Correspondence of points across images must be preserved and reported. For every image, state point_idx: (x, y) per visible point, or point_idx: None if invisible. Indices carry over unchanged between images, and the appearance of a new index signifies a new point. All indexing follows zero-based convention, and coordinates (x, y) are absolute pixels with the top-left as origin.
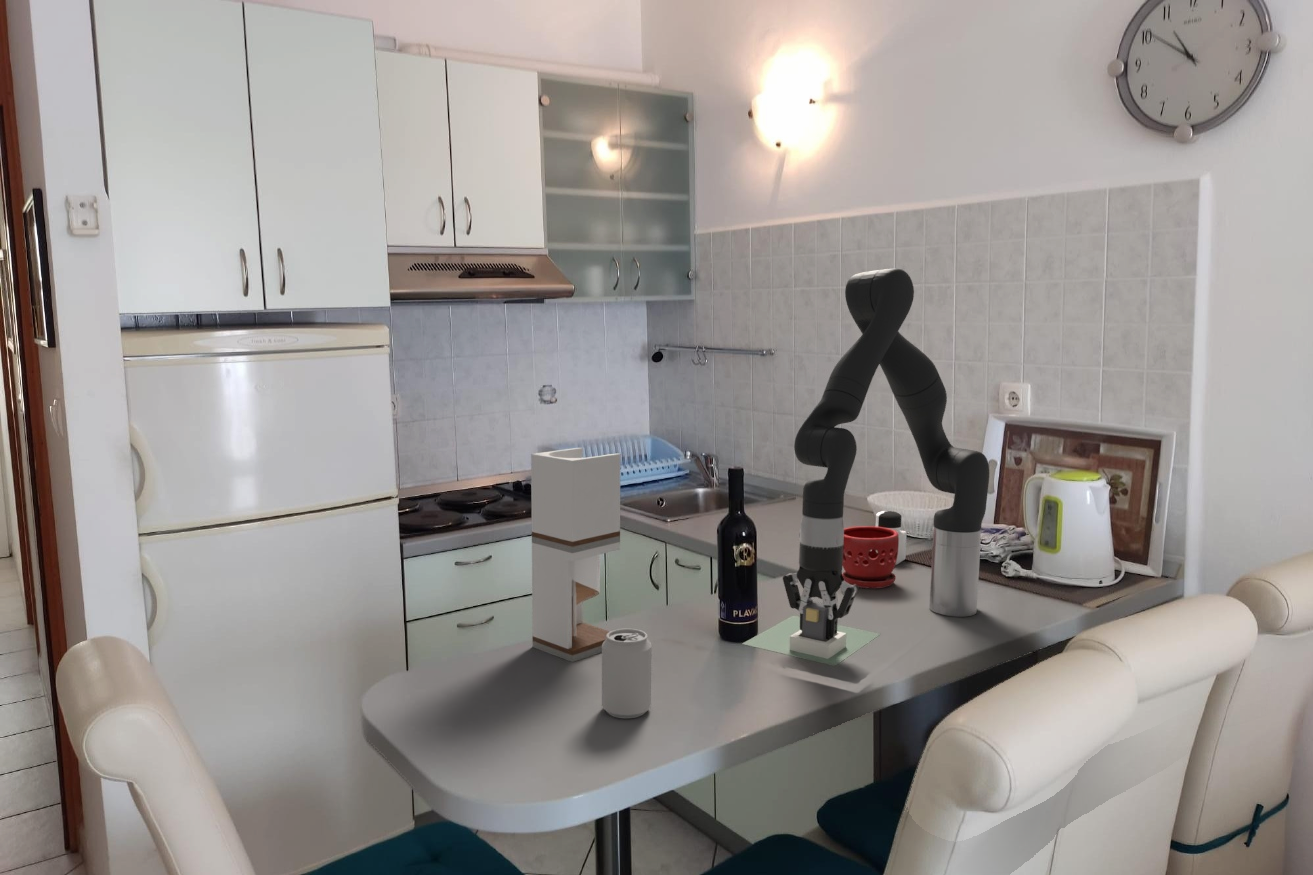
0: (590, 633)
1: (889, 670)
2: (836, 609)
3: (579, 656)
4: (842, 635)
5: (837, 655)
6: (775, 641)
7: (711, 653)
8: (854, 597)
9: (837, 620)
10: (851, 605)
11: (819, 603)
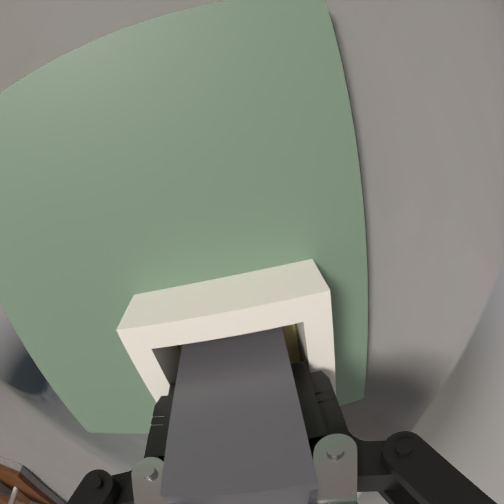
0: (9, 479)
1: (468, 264)
2: (350, 475)
3: (59, 501)
4: (329, 326)
5: (334, 349)
6: (105, 384)
7: (87, 449)
8: (488, 501)
9: (346, 426)
10: (453, 468)
11: (219, 501)
